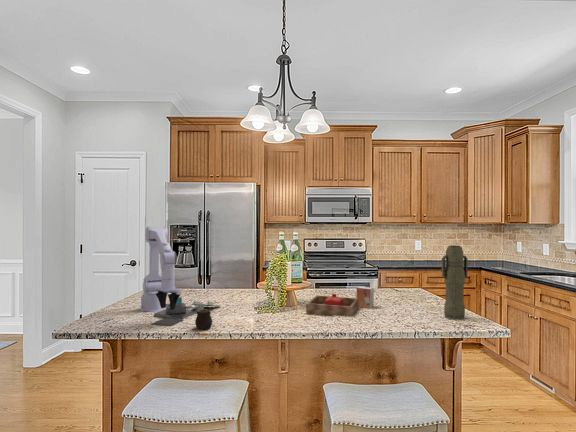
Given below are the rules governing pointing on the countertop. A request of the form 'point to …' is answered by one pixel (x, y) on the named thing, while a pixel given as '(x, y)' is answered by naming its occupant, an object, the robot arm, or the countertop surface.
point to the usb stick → (179, 301)
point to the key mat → (167, 322)
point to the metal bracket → (203, 304)
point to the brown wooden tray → (332, 306)
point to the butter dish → (334, 300)
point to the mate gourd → (203, 319)
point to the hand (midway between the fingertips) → (167, 308)
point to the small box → (365, 297)
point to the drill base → (175, 316)
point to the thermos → (454, 282)
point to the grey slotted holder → (179, 308)
